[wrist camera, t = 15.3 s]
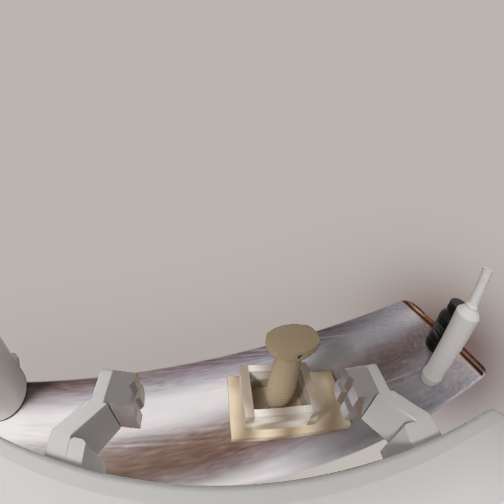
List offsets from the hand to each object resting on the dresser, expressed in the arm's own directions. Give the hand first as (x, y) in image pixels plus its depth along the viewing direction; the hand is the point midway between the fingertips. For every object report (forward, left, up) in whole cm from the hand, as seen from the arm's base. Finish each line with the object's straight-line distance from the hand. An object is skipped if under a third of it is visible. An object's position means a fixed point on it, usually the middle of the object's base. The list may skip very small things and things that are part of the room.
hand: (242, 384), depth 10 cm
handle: (+8, +17, -29) cm, 34 cm away
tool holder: (+10, +17, -30) cm, 36 cm away
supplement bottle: (+48, +25, -30) cm, 62 cm away
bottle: (+40, +17, -30) cm, 53 cm away
